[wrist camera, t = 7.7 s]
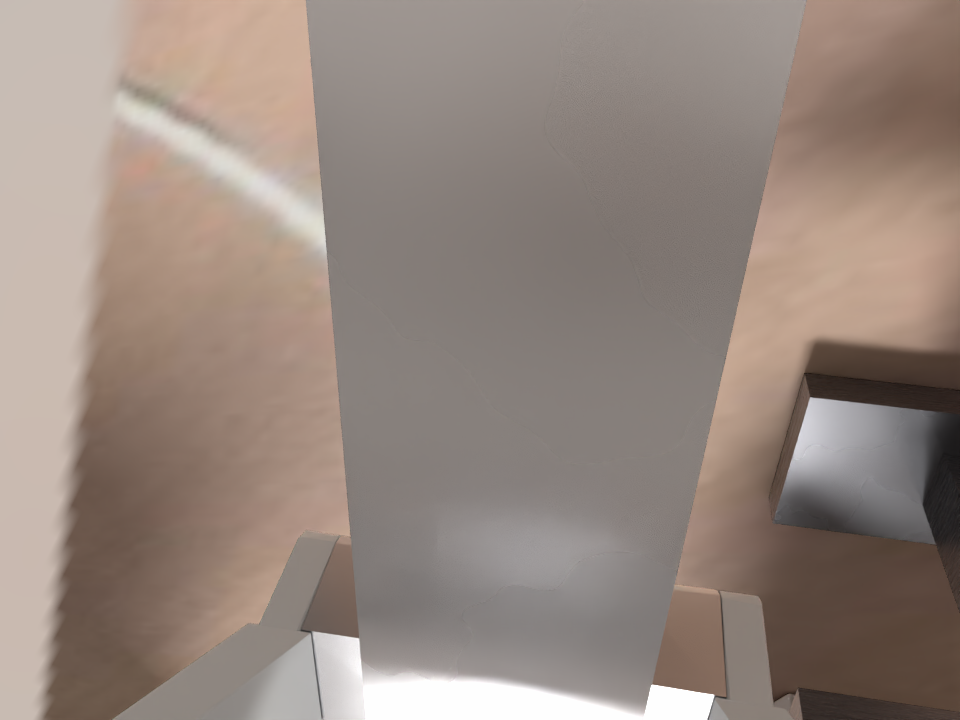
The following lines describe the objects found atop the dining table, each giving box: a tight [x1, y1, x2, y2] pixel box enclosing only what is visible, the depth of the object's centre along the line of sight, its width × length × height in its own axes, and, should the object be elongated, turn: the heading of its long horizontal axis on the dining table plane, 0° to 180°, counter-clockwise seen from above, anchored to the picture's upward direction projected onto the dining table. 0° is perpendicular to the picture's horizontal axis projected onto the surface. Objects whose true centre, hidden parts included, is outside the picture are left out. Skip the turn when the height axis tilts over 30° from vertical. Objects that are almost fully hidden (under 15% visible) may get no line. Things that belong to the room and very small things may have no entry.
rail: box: [306, 0, 807, 720], centre depth 11 cm, size 20×3×3 cm, turn 178°
